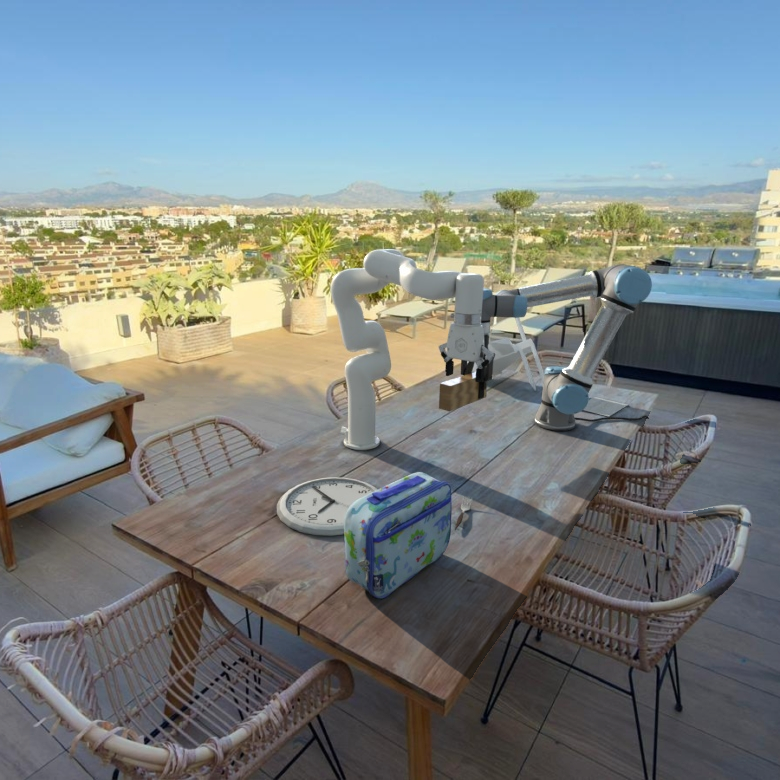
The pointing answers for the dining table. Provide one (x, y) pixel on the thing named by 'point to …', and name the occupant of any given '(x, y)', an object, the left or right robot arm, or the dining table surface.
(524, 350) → the white plastic object
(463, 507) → the fork
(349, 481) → the wall clock
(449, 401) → the bar
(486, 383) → the right robot arm
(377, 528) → the lunch box
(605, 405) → the invitation card
